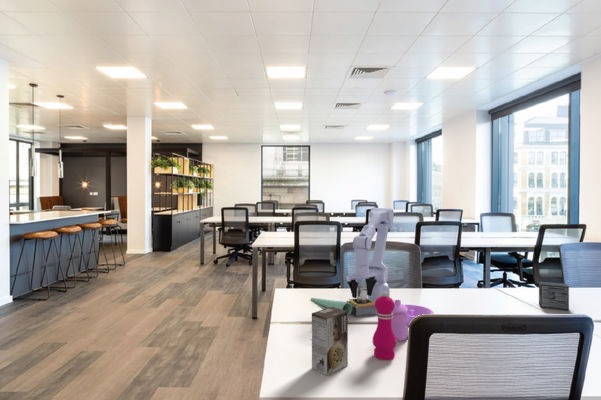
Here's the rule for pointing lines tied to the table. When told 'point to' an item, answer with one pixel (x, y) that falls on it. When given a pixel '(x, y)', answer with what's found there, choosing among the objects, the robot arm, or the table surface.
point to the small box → (554, 296)
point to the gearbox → (362, 308)
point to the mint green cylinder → (334, 304)
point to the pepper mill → (384, 328)
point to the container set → (405, 318)
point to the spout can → (361, 295)
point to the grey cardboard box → (329, 340)
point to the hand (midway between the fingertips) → (361, 296)
